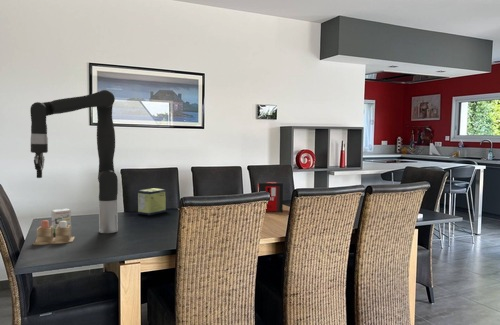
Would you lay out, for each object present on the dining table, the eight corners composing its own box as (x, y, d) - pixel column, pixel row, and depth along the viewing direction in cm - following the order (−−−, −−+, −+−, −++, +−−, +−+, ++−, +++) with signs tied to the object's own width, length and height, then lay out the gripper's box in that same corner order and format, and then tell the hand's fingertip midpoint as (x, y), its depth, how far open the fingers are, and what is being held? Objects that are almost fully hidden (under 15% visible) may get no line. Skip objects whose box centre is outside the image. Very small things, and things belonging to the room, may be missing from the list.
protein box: (166, 211, 266) (166, 189, 265) (148, 215, 253) (148, 191, 252) (155, 210, 271) (154, 187, 270) (137, 213, 258) (137, 190, 257)
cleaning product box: (258, 212, 267) (258, 183, 266) (257, 209, 276) (257, 181, 275) (282, 212, 268) (283, 183, 267) (280, 209, 277) (281, 181, 276)
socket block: (74, 237, 197) (74, 224, 197) (72, 242, 189) (71, 228, 188) (37, 240, 193) (36, 226, 192) (32, 245, 184) (32, 230, 183)
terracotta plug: (49, 237, 191) (49, 220, 191) (48, 238, 188) (47, 221, 188) (42, 237, 190) (41, 220, 190) (40, 239, 187) (40, 221, 187)
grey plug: (67, 237, 194) (67, 220, 193) (66, 239, 191) (66, 221, 190) (60, 237, 193) (60, 220, 192) (59, 239, 190) (58, 222, 189)
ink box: (54, 233, 205) (53, 211, 204) (51, 231, 209) (51, 210, 208) (71, 231, 211) (70, 209, 210) (68, 229, 214) (68, 208, 214)
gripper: (45, 143, 189) (45, 179, 190) (50, 142, 202) (50, 176, 203) (27, 143, 187) (27, 179, 188) (33, 142, 199) (33, 176, 200)
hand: (39, 177), depth 195 cm, fingers closed
